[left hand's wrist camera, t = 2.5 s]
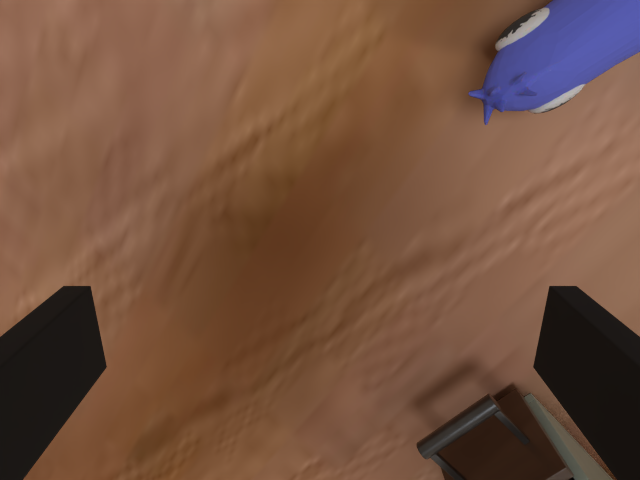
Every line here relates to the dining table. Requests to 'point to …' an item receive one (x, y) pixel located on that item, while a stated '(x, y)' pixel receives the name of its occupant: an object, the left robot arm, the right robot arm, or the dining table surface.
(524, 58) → the toy
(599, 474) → the pale green box
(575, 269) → the dining table surface
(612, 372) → the left robot arm
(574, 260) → the dining table surface
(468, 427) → the drawer
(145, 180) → the dining table surface
